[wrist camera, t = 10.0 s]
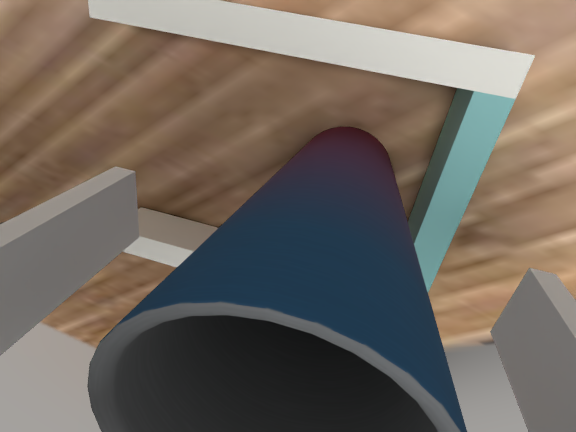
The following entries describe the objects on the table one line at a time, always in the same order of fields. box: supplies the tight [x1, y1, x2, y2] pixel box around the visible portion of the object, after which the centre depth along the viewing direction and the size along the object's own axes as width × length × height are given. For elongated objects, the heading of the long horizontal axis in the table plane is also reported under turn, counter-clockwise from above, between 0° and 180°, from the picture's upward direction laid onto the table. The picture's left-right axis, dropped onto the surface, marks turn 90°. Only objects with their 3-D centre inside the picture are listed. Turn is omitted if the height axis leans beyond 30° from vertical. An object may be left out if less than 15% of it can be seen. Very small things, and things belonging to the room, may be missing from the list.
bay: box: [88, 0, 535, 292], centre depth 18 cm, size 18×14×3 cm
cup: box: [88, 127, 467, 432], centre depth 13 cm, size 7×7×15 cm
